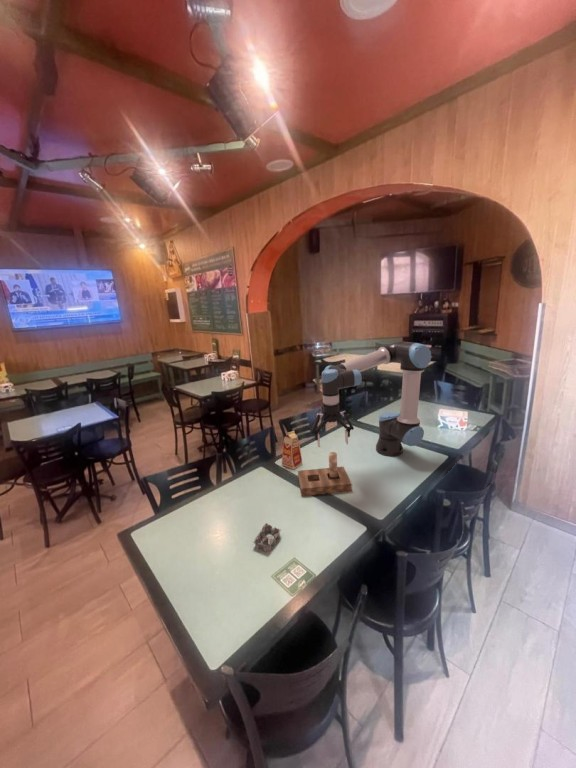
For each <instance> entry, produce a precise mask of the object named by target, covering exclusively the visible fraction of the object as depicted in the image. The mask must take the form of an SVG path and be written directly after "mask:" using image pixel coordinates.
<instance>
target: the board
mask: <svg viewBox="0 0 576 768" xmlns="http://www.w3.org/2000/svg"><path fill="white" fill-rule="evenodd" d="M337 474H338V479H331V480H330V478H329V467H325V468H314V469H313V468H312V469H305V470H304V469H303V470H297V477H298V478H299V479H298V483H299V490H300V496H301V497H306V496H307V497H308V496H315V495H316V494H318V495H325V493H328V494H336V493H337V494H338V493H347V492H348V493H349V492H352V490H353V489H352V488H353V487H352V482H351V479H350V477H349V475H348V473H347V470H346V468H345V466H337ZM316 496H317V495H316Z"/></svg>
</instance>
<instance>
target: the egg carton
mask: <svg viewBox="0 0 576 768" xmlns="http://www.w3.org/2000/svg"><path fill="white" fill-rule="evenodd" d="M269 532H270V533H271V534H272V535H273V536H272V535H269V536H267V535H266V533H269ZM280 532H281V529H280V528H278V527H275V526H274V527H273V526H272V525H270V524H268V523H267V522H266V523H265V524H264V525H263V526H262V528H261V530H260V531H259V532H258V534H257V535H256V537H255V539H254V541H253V544H254V545H255V550H260V549H263V552H264V553H267V552H270V551H272V546H273V545H276V543H277V540H276V539H280V537H281V534H280Z"/></svg>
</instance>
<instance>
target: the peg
mask: <svg viewBox="0 0 576 768" xmlns="http://www.w3.org/2000/svg"><path fill="white" fill-rule="evenodd" d="M337 467H338V453H337V452H334V451H331V452H329V453H328V468H329V478H330V480H331V479H338V474H337Z"/></svg>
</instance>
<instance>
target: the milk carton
mask: <svg viewBox="0 0 576 768" xmlns="http://www.w3.org/2000/svg"><path fill="white" fill-rule="evenodd" d="M282 445H283V447H282V455H281V465H282V466H283V467H287V468H289V469H292V470H296V469H297V468H298V467H299V466H301V465H302V464H303V459H302V458H303V457H302V451H301V447H300V441H299V437H298V436H297V434H296V433H295V430H292V431H289V432H286V435H285V436H284V440H283V444H282Z"/></svg>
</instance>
